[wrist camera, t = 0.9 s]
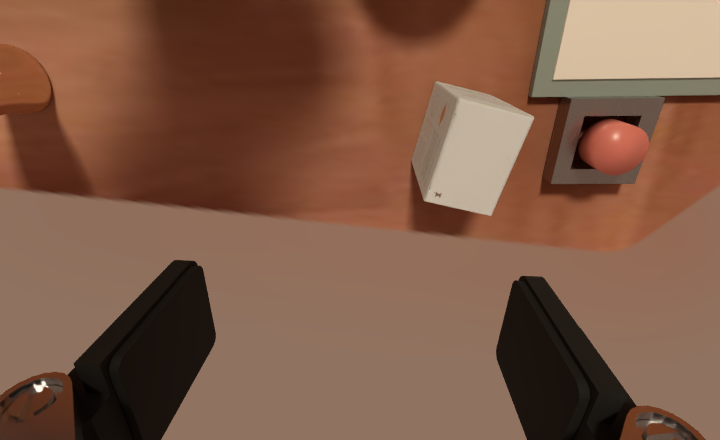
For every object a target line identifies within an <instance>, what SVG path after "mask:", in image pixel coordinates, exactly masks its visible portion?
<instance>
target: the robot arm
mask: <svg viewBox="0 0 720 440" xmlns="http://www.w3.org/2000/svg"><path fill="white" fill-rule="evenodd" d="M215 338H216V333H215V328H214V323H213V318H212V313H211V308H210V303H209V298H208V292H207V287H206V283H205V277H204V272H203V268H202V267H201V266H198V265H197V263H196V262H195V261H184V260H183V261H182V260H174V261H173V262H172V263H171V264H170V265H169V266H168V267H167V268H166V269H165V270H164V271H163V272H162V273H161V274H160V275H159V276H158V277H157V278H156V279H155V280H154V281H153V282H152V283H151V284H150V285H149V286H148V287H147V288H146V290H144V291H143V293H142V294H141V295H140V296H139V297H138V298H137V299H136V300H135V301H134V302H133V303H132V304H131V305H130V306H129V307H128V308H127V309H126V310H125V311H124V312H123V313H122V314H121V315H120V316H119V317H118V318H117V319H116V320H115V321H114V322H113V323H112V325H111V326H110V327H109V328H108V329H107V330H106V331H105V332H104V333H103V334H102V335H101V336H100V337H99V338H98V339H97V340H96V341H95V342H94V343H93V344H92V345H91V346H90V347H89V348H88V349H87V350H86V352H84V353H83V354H82V356H81V357H79V359H78V360H77V361H76V362H75V363H74V366H75V368H74V369H73V370H72V371H71V372H70V373H69V374H68V375H66V374H65V373H58V372H52V373H43V374H40V375H37V376H33V377H31V378H29V379H26V380H24V381H22V382H19V383H18V384H16V385H14V386H13V387H11V388H10V389H8V390H6V391H5V392H4V393H3V394H2V395H0V440H161V439H162V437H163V435H164V433H165V432H166V430H167V428H168V426H169V424H170V423H171V421H172V419H173V417H174V415H175V414H176V412H177V410H178V408H179V407H180V405H181V403H182V401H183V399H184V397H185V396H186V394H187V392H188V390H189V389H190V386H191V385H192V383H193V381H194V380H195V378H196V376H197V374H198V372H199V371H200V369H201V367H202V365H203V363H204V362H205V360H206V358H207V356H208V355H209V353H210V351H211V349H212V347H213V345H214V342H215ZM496 355H497V361H498V364H499V366H500V369H501V372H502V374H503V377H504V379H505V382H506V385H507V388H508V390H509V393H510V396H511V398H512V401H513V404H514V406H515V409H516V411H517V414H518V417H519V419H520V422H521V425H522V427H523V430H524V432H525V435H526V438H527V440H706V439H704V437H703V436H702V435H701V434H700V433H699V432H698V431H697V430H696V429H694V428H693V427H692V426H691V425H689V424H688V423H687V422H686V421H684V420H682V419H681V418H679V417H677V416H675V415H674V414H672V413H669V412H667V411H665V410H662V409H660V408H655V407H651V406H636V405H635V403H634V402H633V400H632V399H631V398H630V396H629V395H628V393H627V392H626V391H625V389H624V388H623V387H622V385H621V384H620V382H619V381H618V380H617V378H616V377H615V375H614V374H613V373H612V372H611V370H610V368H609V367H608V366H607V364H606V363H605V361H604V360H603V359H602V357H601V356H600V354H599V353H598V352H597V350H596V349H595V348H594V346H593V345H592V343H591V342H590V341H589V339H588V338H587V336H586V335H585V334H584V332H583V331H582V329H581V328H579V326H578V325H577V324H576V322H575V321H574V319H573V318H572V316H571V315H570V314H569V312H568V311H567V309H566V308H565V307H564V305H563V304H562V303H561V301H560V300H559V299H558V297H557V295H556V294H555V293H554V291H553V290H552V288H551V287H550V286H549V285H548V283H547V282H546V280H545V279H544V278H543V277H534V276H521V277H520V278H519V281H516V280H515V281H514V282H513V284H512V288H511V292H510V296H509V300H508V304H507V308H506V312H505V316H504V320H503V324H502V328H501V332H500V336H499V341H498V344H497V349H496Z"/></svg>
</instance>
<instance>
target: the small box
mask: <svg viewBox="0 0 720 440" xmlns="http://www.w3.org/2000/svg"><path fill="white" fill-rule="evenodd" d="M533 121H534V117H533V116H532V115H530V114H528V113H526V112H524V111H522V110H520V109H518V108H516V107H514V106H512V105H510V104H508V103H506V102H504V101H502V100H500V99H498V98H496V97H493V96H491V95H488V94H485V93H481V92H477V91H473V90H470V89H466V88H462V87H458V86H454V85H450V84H446V83H441V82H437V81H436V82H435V84H434V87H433V91H432V94H431V97H430V101H429V104H428V107H427V111H426V114H425V117H424V121H423V124H422V127H421V131H420V134H419V137H418V141H417V144H416V147H415V150H414V154H413V157H412V160H411V161H412V165H413V168H414V171H415V175H416V178H417V181H418V184H419V187H420V190H421V194H422V197H423V200H424V201H425V202H430V203H434V204H439V205H443V206H448V207H452V208H457V209H461V210H466V211H470V212H475V213H479V214H484V215H488V216H492V214H493V211H494V209H495V207H496V205H497V202H498V200H499V198H500V195H501V193H502V191H503V189H504V186H505V184H506V182H507V179H508V177H509V175H510V173H511V170H512V168H513V166H514V164H515V161H516V159H517V157H518V154H519V152H520V150H521V147H522V145H523V143H524V141H525V139H526V136H527V134H528V132H529V130H530V127H531V125H532V123H533Z"/></svg>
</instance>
